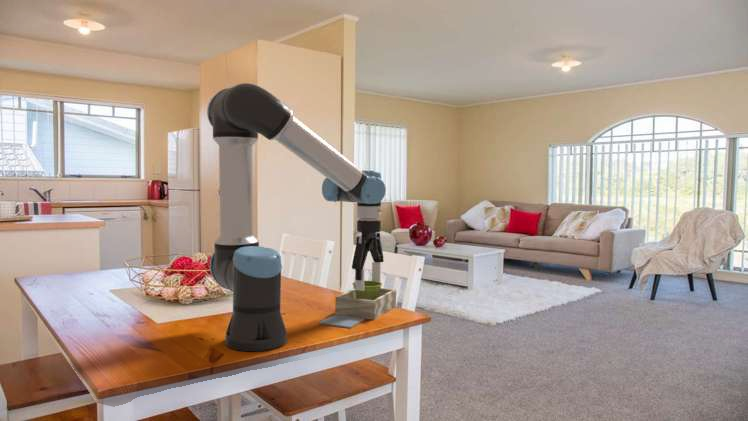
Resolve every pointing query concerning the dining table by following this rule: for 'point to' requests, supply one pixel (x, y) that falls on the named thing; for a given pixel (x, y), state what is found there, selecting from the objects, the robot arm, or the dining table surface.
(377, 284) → the plant pot
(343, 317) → the mat
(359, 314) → the frame
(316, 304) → the dining table surface
